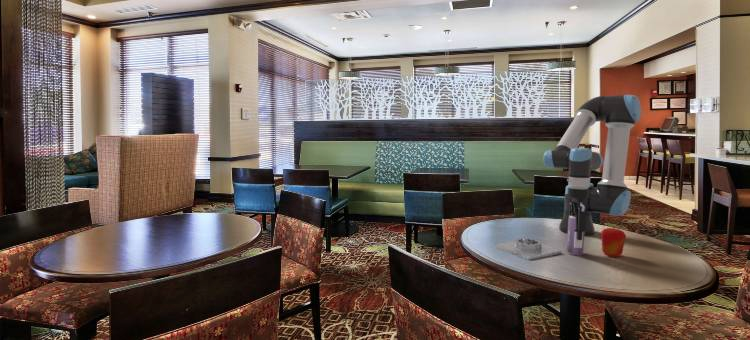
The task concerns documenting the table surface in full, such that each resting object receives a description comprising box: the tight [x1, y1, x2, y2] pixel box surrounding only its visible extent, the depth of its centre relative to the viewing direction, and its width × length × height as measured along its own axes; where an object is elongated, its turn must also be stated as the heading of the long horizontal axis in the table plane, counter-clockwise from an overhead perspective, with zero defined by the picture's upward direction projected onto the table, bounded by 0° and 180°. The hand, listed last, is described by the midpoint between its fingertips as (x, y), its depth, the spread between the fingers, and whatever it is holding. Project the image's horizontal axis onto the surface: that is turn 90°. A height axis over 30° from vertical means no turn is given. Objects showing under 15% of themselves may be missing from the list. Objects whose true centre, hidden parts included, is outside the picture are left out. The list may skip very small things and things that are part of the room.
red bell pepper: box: [600, 226, 627, 258], centre depth 161 cm, size 9×8×12 cm
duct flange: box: [494, 237, 563, 261], centre depth 168 cm, size 18×18×4 cm
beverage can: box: [566, 215, 585, 256], centre depth 163 cm, size 6×6×15 cm
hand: (575, 244), depth 164 cm, fingers closed on beverage can, 6 cm apart
